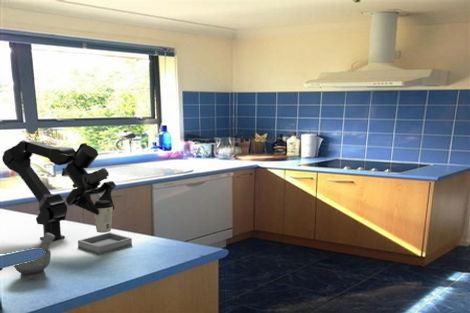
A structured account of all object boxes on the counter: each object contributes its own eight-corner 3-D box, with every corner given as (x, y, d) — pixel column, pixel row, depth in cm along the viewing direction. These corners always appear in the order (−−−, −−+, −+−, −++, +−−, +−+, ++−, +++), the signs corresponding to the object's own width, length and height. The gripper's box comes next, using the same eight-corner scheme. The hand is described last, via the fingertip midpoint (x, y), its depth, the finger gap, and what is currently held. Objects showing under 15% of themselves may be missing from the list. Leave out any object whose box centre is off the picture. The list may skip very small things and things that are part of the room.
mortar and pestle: (12, 285, 117) (9, 241, 116) (13, 274, 126) (10, 233, 125) (58, 278, 122) (55, 236, 121) (56, 267, 130) (54, 228, 129)
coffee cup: (115, 232, 147) (113, 203, 146) (93, 234, 145) (91, 204, 144) (114, 227, 154) (112, 199, 153) (92, 229, 152) (91, 200, 151)
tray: (78, 247, 150) (77, 240, 149) (110, 239, 159) (109, 232, 159) (99, 255, 142) (99, 247, 141) (131, 245, 151) (131, 238, 151)
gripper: (70, 164, 141) (98, 201, 137) (111, 158, 157) (137, 191, 154) (54, 187, 145) (80, 223, 141) (95, 179, 162) (119, 211, 158)
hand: (106, 211), depth 148 cm, fingers closed on coffee cup, 7 cm apart
